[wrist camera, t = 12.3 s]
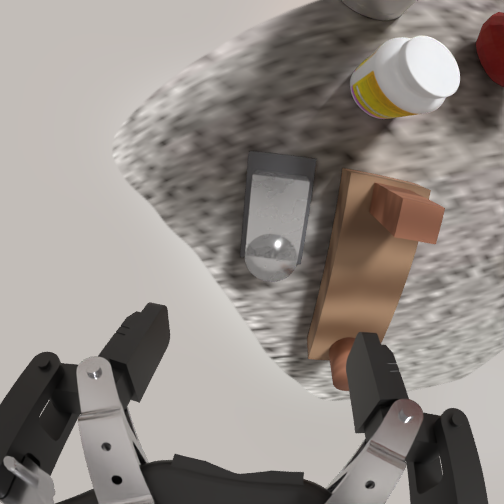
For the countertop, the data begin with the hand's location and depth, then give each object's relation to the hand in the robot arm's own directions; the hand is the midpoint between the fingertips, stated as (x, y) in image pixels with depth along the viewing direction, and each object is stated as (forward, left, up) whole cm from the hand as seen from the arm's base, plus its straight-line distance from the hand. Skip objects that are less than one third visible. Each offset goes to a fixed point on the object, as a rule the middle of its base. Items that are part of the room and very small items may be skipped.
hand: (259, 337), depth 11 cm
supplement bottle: (-15, +9, -21) cm, 28 cm away
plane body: (+6, +11, -21) cm, 24 cm away
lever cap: (+1, 0, -20) cm, 20 cm away
